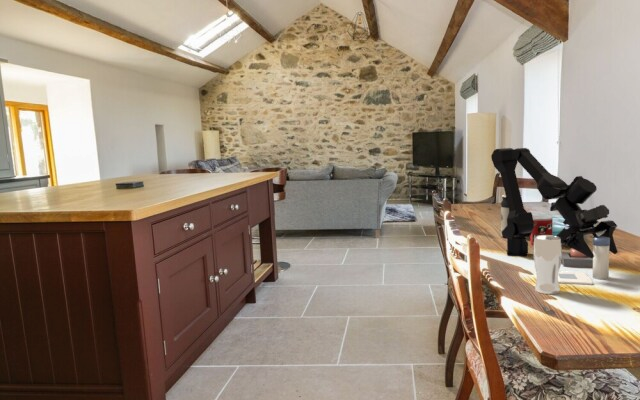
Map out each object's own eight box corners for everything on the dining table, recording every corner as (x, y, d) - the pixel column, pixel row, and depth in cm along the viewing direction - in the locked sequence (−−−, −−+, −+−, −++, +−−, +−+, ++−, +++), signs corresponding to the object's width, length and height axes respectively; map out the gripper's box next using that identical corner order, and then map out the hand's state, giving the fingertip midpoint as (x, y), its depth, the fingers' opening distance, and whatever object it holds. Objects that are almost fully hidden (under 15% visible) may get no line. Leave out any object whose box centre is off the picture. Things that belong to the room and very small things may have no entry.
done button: (571, 259, 146) (571, 251, 145) (569, 256, 150) (569, 247, 149) (587, 260, 144) (587, 251, 144) (584, 257, 148) (584, 248, 148)
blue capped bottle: (594, 279, 130) (594, 239, 128) (590, 275, 134) (591, 236, 132) (610, 280, 128) (611, 239, 127) (606, 275, 132) (607, 236, 131)
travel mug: (522, 235, 192) (522, 194, 190) (519, 239, 185) (519, 196, 183) (503, 234, 196) (502, 194, 194) (499, 238, 189) (499, 196, 187)
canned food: (531, 246, 172) (531, 218, 171) (529, 242, 179) (529, 215, 178) (553, 247, 169) (553, 219, 168) (551, 242, 176) (551, 215, 175)
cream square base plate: (549, 282, 129) (549, 280, 129) (544, 272, 139) (544, 270, 139) (592, 284, 125) (592, 282, 125) (584, 273, 136) (584, 271, 136)
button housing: (563, 266, 144) (563, 258, 144) (558, 258, 153) (558, 251, 153) (599, 267, 141) (599, 259, 140) (591, 259, 150) (591, 252, 150)
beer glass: (550, 296, 118) (550, 241, 116) (527, 289, 124) (527, 237, 122) (567, 291, 121) (567, 237, 119) (544, 285, 127) (544, 233, 125)
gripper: (564, 199, 129) (599, 243, 120) (611, 194, 135) (647, 235, 126) (543, 222, 138) (573, 265, 129) (588, 216, 144) (620, 256, 134)
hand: (604, 255), depth 129 cm, fingers open, 9 cm apart
